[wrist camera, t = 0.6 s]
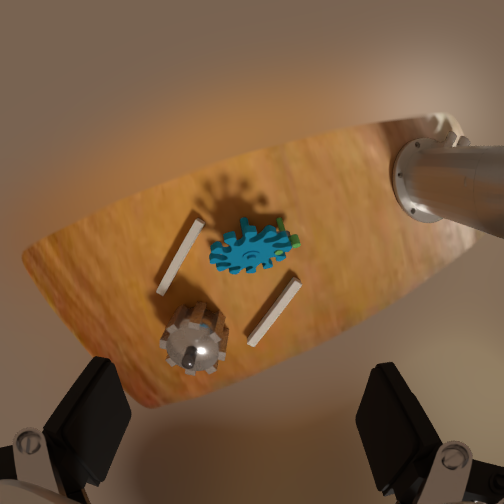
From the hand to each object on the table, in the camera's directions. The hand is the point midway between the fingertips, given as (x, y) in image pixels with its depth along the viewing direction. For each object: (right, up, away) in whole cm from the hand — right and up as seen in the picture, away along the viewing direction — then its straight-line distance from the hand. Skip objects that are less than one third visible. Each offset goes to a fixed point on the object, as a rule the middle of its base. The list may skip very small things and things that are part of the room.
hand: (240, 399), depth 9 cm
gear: (+1, +6, +29) cm, 30 cm away
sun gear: (-8, -6, +32) cm, 34 cm away
